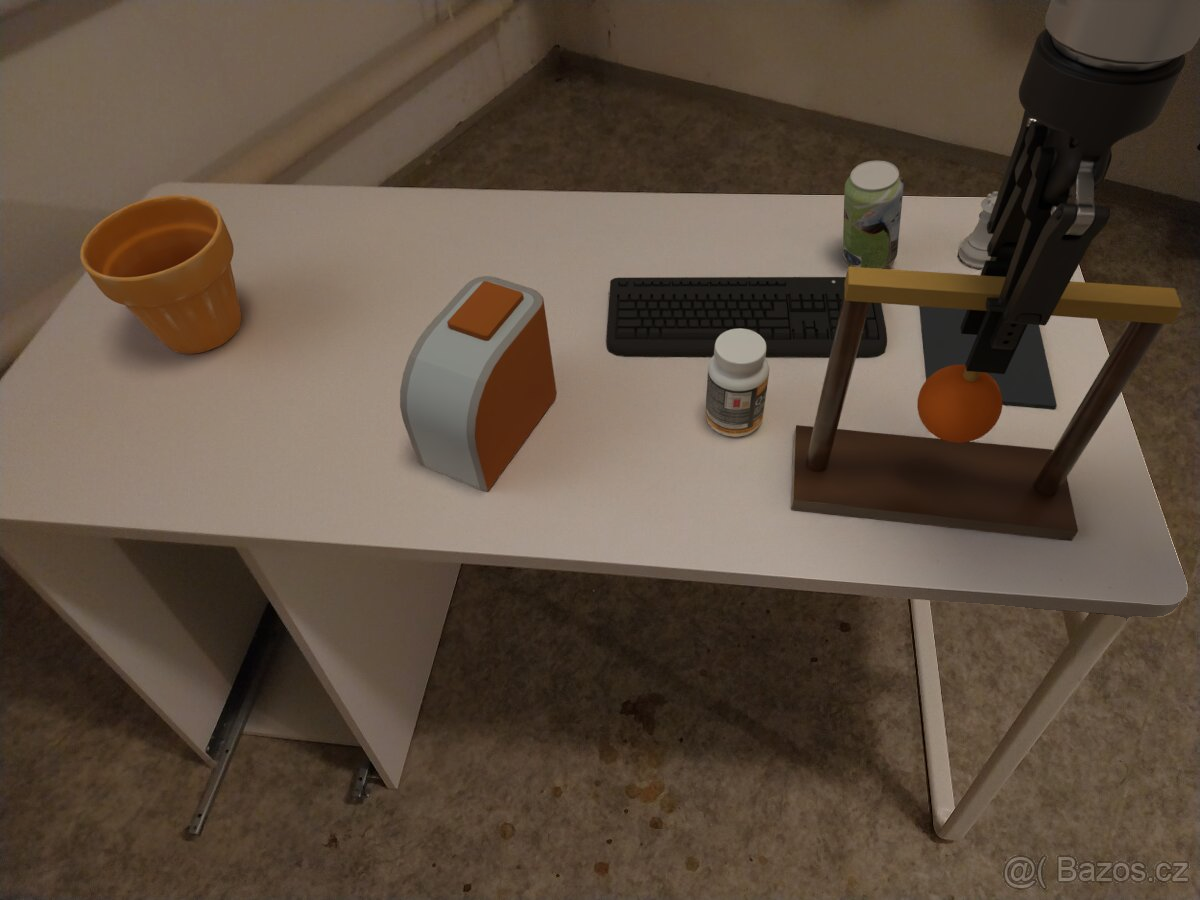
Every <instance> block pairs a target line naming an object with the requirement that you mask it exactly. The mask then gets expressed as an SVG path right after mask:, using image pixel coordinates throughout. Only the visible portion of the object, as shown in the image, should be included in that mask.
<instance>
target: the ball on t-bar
mask: <svg viewBox="0 0 1200 900" xmlns="http://www.w3.org/2000/svg"><path fill="white" fill-rule="evenodd" d="M845 277H846V279H845V301H858V302H871V303H881V304H886V305H887V304H888V305H902V306H914V307H920V306H926V307H940V308H954V309H968V310H981V311H987V310H986V300H987V297H990V298H999V296H1000V293H1001V290H1002V287H1003V284H1004V281H1005V279H1006V277H998V276H983V275H981V274H967V273H952V272H939V271H937V272H935V271H924V270H923V271H922V270H921V271H920V270H907V269H893V268H881V269H878V268H863V267H852V266H848V267H847V270H846V275H845ZM1182 308H1183V305H1182V302H1181V301H1180V298H1179V295H1178V292H1177V290H1176V288H1175V287H1161V286H1145V285H1130V284H1116V283H1102V282H1101V283H1100V282H1087V281H1086V282H1085V281H1071V280H1070V282H1069V284H1068V285H1067V287H1066V289H1065V291H1064V293H1063V295H1062V297H1061V298H1060V300H1059V302H1058V304H1057V306H1056V308H1055V309H1054V311H1053V313H1052V315H1051V317H1054V316H1055V317H1064V318H1065V317H1066V318H1077V319H1078V318H1079V319H1091V320H1092V319H1093V320H1105V321H1106V320H1107V321H1121V322H1130V321H1132V322H1146V323H1160V324H1164V325H1172V324H1173V323H1174V321H1175V319H1176V318H1177V316H1178V315H1179V313H1180V311H1181V310H1182ZM916 405H917V413H918V416H919V419H920V422H921V423H922V424H923V426H924V428H925V429H926V430H927V431H928V432H929V433H930V434H932V435H933V436H935V438H937V439H942V440H945V441H949V442H955V443H964V442H974V441H976V440H978V439H980V438H982V437H984V436H985V435H987V434H988V433H989V432H990V431H992V429H993V428H994V427H995V426H996V424H997V423H998V421H999V419H1000V416H1001V414H1002V410H1003V405H1002V395H1001V391H1000V389H999V386H998V385H997V383H996V381H995V380H994V379H993V378H992V377H991V376H990V375H989V374H988V373H985V372H973V371H966V365H961V364H960V365H951V366H947V367H945V368H942V369H940V370H938V371H937V372H935V373H934V374H932V375H931V376H930V377H929V378H928V379H927V380H926V379H925V381H924V383H923V384H922V386H921V388H920V390H919V393H918V396H917V404H916Z"/></svg>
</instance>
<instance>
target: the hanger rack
mask: <svg viewBox="0 0 1200 900" xmlns="http://www.w3.org/2000/svg"><path fill="white" fill-rule="evenodd" d="M869 306H870V302H858V301H845V291H844V295H843V300H842V304H841V309H840V313H839V317H838V322H837V326H836V331H835V335H834V339H833V344H832V348H831V353H830V357H828V362H827V366H826V370H825V375H824V379H823V383H822V389H821V392H820V397H819V402H818V406H817V410H816V414H815V419H814V423H813V426H811V425H801V424H800V425H799V424H796V425H795V428H794V433H793V449H792V451H793V453H792V475H791V476H792V477H791V479H792V480H791V502H790V503H791V504H790V505H791V506H790V509H791V511H799V512H806V513H807V512H808V513H817V514H827V515H835V516H844V517H854V518H862V519H871V520H880V521H890V522H899V523H907V524H908V523H909V524H916V525H928V526H936V527H943V528H953V529H963V530H970V531H971V530H972V531H980V532H981V531H982V532H989V533H990V532H991V533H998V534H1008V535H1016V536H1024V537H1025V536H1027V537H1035V538H1043V539H1044V538H1045V539H1054V540H1060V541H1061V540H1063V541H1070V542H1071V541H1073V540H1074V538H1075V537H1076V536H1077V534H1078V533H1079V528H1078V523H1077V518H1076V514H1075V513H1076V512H1075V509H1074V504H1073V499H1072V494H1071V489H1070V486H1069V482H1068V481H1069V480H1068V476H1069V474H1070V473H1071V471H1072V470H1073V468H1074V467H1075V465H1076V464H1077V462H1078V461H1079V459H1080V457H1081V456H1082V454H1083V453H1084V451H1085V449H1086V448H1087V446H1088V445H1089V443H1090V442H1091V440H1092V439H1093V437H1094V435H1095V434H1096V432H1097V431H1098V429H1099V428H1100V426H1101V424H1102V423H1103V421H1104V420H1105V418H1106V417H1107V415H1108V414H1109V412H1110V410H1111V409H1112V408H1113V406H1114V404H1115V403H1116V401H1117V400H1118V398H1119V397H1120V395H1121V393H1122V392H1123V391H1124V389H1125V387H1126V385H1127V384H1128V382H1129V381H1130V380H1131V378H1132V376H1133V375H1134V373H1135V371H1136V370H1137V369H1138V367H1139V365H1140V364H1141V362H1142V360H1143V359H1144V357H1145V356H1146V354H1147V353H1148V352H1149V350H1150V348H1151V346H1153V344H1154V342H1155V340H1156V338H1157V337H1158V335H1159V334H1160V332H1161V331H1162V330H1163V328H1164V326H1165V324H1160V323H1146V322H1132V321H1128V323H1127V325H1126V326H1125V328H1124V330H1123V331H1122V333H1121V335H1120V337H1119V338H1118V340H1117V342H1116V343H1115V345H1114V347H1113V348H1112V350H1111V352H1110V353H1109V355H1108V357H1107V359H1106V360H1105V362H1104V364H1103V365H1102V367H1101V368H1100V371H1099V372H1098V374H1097V375H1096V377H1095V378H1094V380H1093V382H1092V384H1091V385H1090V387H1089V389H1088V391H1086V394H1085V395H1084V398H1083V399H1082V401H1081V402H1080V404H1079V405H1078V407H1077V409H1076V411H1075V413H1074V414H1073V416H1072V417H1071V419H1070V421H1069V422H1068V424H1067V426H1066V428H1065V429H1064V431H1063V433H1062V434H1061V436H1060V438H1059V439H1058V441H1057V443H1056V445H1055V446H1054V447H1053V449H1052V448H1051V449H1050V448H1040V447H1032V446H1031V447H1030V446H1019V445H1011V444H1010V445H1009V444H1000V443H999V444H998V443H989V442H988V443H987V442H977V441H969V442H964V443H955V442H949V441H945V440H942V439H940V438H938V437H926V436H916V435H905V434H904V435H903V434H895V433H884V432H883V433H882V432H872V431H864V430H863V431H862V430H852V429H840V428H839V424H840V421H841V416H842V413H843V408H844V405H845V401H846V397H847V393H848V390H849V385H850V382H851V378H852V374H853V370H854V366H855V362H856V355H857V352H858V348H859V344H860V340H861V336H862V333H863V329H864V325H865V321H866V317H867V314H868V310H869Z"/></svg>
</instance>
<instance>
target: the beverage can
mask: <svg viewBox="0 0 1200 900" xmlns="http://www.w3.org/2000/svg"><path fill="white" fill-rule="evenodd" d="M904 185H905V184H904V179H903V177H902V176H901V174H900V171H899V169H898V167H897V166H896V165H895V164H894V163H892V162H889V161H885V160H879V159H878V160H868V161H865V162H862V163H860V164H858V165H856V166H855V167H854V168H853V169H852V170H851V172H850V175H849V177H848V178H847V179H846V181H845V184H844V193H843V195H844V196H843V226H842V229H843V230H842V231H843V232H842V235H843V236H842V258H843V260H844V262H845V263H846V264H847V265H848V266H849V267H863V268H878V269H885V268H886V267H888V266H890V265H891V264H892V263H893V262H894V261H895V260H896V258H897V256H898V248H899V240H900V239H899V238H900V229H901V218H902V208H903V206H902V205H903V199H904V187H905V186H904Z"/></svg>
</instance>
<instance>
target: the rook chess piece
mask: <svg viewBox="0 0 1200 900" xmlns="http://www.w3.org/2000/svg"><path fill="white" fill-rule="evenodd" d="M998 193H999V191H992V193H990V192H989V193H988V194H987V195H986V197H985V198H983V199H982V200H981V202H980V207H981V209H982V211H980V213H979V214H978V222H977V223H976V225H975V228H974V229H973V231H972V232H971V233H969V234H968V236H966V237H965V238H964V239H963V241H962V242H961V246H959V248H958V256H959V258H960V260H961V262H962V263H964V264H965V265H967V266H968V267H972V268H975V269H983V267H984V264H985V262H986V260H989V261H990V258H991V257H989V256H988V251H987V246H988V244H989V242H990V240H991V238H992V236H993V234H988V232H987V223H988V222H989V219H990V216H991V213H992V210H993V207H994V204H995V201H996V199H997V196H998Z"/></svg>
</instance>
